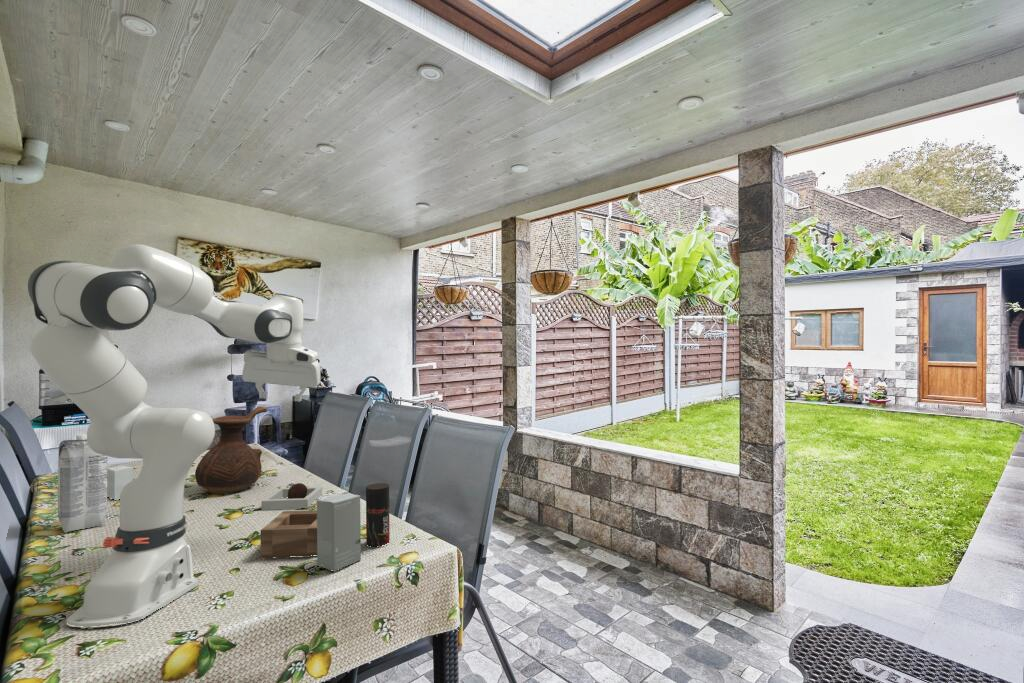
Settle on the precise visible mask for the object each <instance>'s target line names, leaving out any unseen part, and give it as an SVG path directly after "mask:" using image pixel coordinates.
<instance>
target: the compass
mask: <svg viewBox="0 0 1024 683" xmlns="http://www.w3.org/2000/svg"><path fill="white" fill-rule="evenodd" d="M289 488H290V489H289V490H288V498H286V499H297V498H306V495H307V486H306V485H305V484H304V483H302V482H301V483H300V482H296V483H294V484H292V485H291V486H290V487H289Z"/></svg>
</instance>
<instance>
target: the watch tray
mask: <svg viewBox="0 0 1024 683" xmlns="http://www.w3.org/2000/svg"><path fill="white" fill-rule="evenodd" d="M306 487H307V486H306ZM289 489H290V487H282V488H281V487H280V488H278V489H277V490H276V491H274V492H272V493H271V494H270V495H268V496H267V497H265V498H264V499H262V500H261V511H276V510H277V511H279V510H280V511H282V509H287V510H302V509H301V508H308V507H309V506H310V505H311V504H312V503H313V502H314V501H315V500H316V499H318V498H319V497H320V496H321V495H322V496H323V486H314V487H313V486H311V487H309V486H308V487H307V495H306V496H307V497H305V498H297V499H287V498H282V497H288V490H289ZM322 496H321V497H322ZM321 497H320V498H321ZM281 498H282V499H281ZM320 498H319V499H320ZM319 499H318V500H319ZM313 504H314V503H313ZM313 504H312V505H313ZM312 505H311V506H312ZM311 506H310V507H311ZM310 507H309V508H310ZM309 508H308V509H309Z"/></svg>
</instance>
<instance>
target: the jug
mask: <svg viewBox="0 0 1024 683" xmlns="http://www.w3.org/2000/svg"><path fill="white" fill-rule="evenodd" d="M266 412H267V407H266V406H262V405H261V406H257V407H255V408H254V409H253V410H251V411H250V412H249V413H247V414H246V415H245V416H242V415H225V416H219V417H218V416H217V417H215V418H212V420H213V422H214V425H218V427H219V430H220V438H219V441H218V443H217V444H215V445H214V446H212V448H211V449H209V450H208V451H207V452H206V453H205V454H204V455H203V456H202V458H201V459H200V461H199V463H198V464H197V466H196V468H195V473H194V476H195V482H196V484H197V486H199V487H200V488H203V489H205V490H206V491H207V492H209V493H211V494H212V495H224V494H223V493H228V494H232V493H231V492H234V493H238V492H241V491H244V490H246V489H248V488H249V487H251V486H253V485H254V484H255V483H256V482H257V481H258V480H259V479H260V477H261V475H262V474H261V473H262V463H261V456H262V454H263V451H262V450H261V449H260V448H252V447H251V445H249V444H248V443H246V441H244V439H243V428H244V427H245V426H246V425H247V424H250V423H251V422H253V420H254V419H255V417H256V416H257V415H258V414H261V413H266Z"/></svg>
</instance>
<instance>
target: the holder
mask: <svg viewBox="0 0 1024 683" xmlns="http://www.w3.org/2000/svg"><path fill="white" fill-rule="evenodd" d="M311 555H312V556H313V555H317V509H316V510H315V509H314V510H313V509H312V510H309V509H306V510H285V511H284V510H283V511H282V512H281V513H279V514H278V515H277V516H276V517H275V518H273V520H271V521H270V522H268V523H267V524H266V525H265V526H263V528H262V529H260V559H261V558H269V559H274V558H273V557H290V556H311Z"/></svg>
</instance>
